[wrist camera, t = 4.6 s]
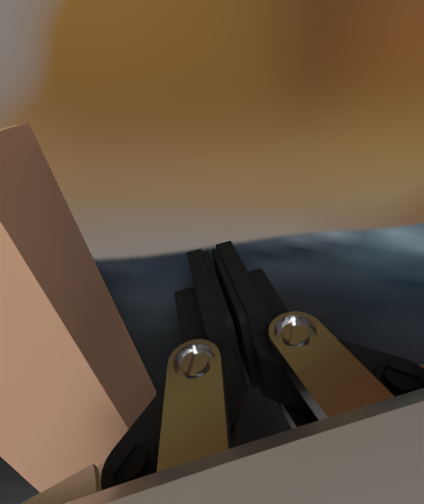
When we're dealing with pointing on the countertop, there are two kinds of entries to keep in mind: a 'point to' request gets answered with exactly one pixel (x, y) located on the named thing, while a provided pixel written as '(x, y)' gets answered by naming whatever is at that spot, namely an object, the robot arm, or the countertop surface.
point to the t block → (56, 331)
